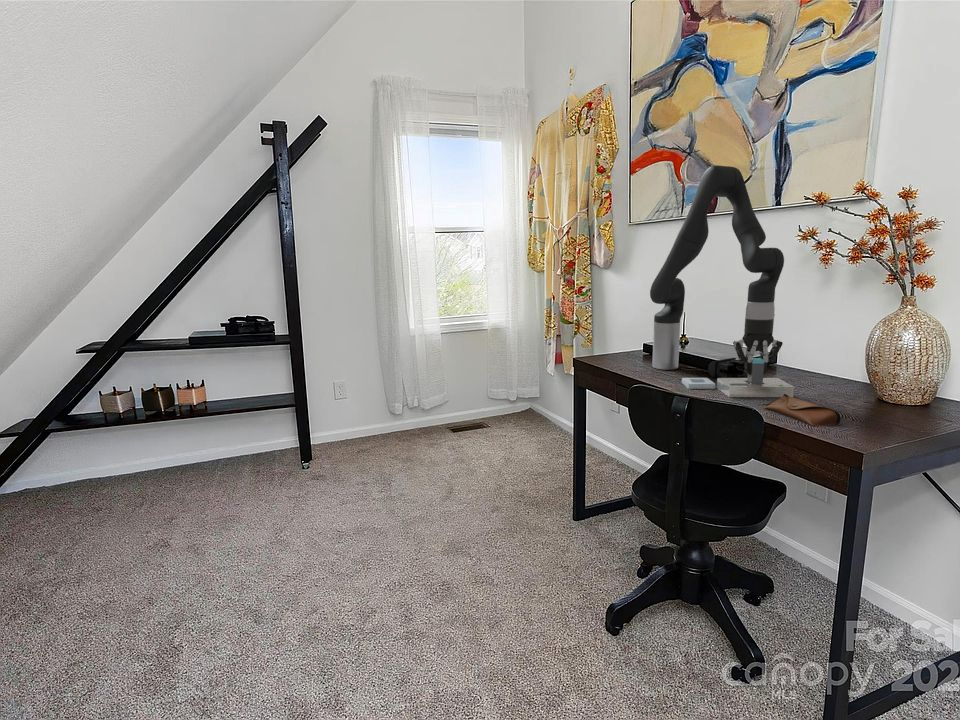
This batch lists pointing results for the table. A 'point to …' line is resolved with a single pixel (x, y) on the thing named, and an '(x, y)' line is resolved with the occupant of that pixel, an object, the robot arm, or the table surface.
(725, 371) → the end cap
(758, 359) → the plug
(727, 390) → the port panel
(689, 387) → the holster
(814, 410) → the sunglasses case
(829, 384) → the table surface
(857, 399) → the table surface
